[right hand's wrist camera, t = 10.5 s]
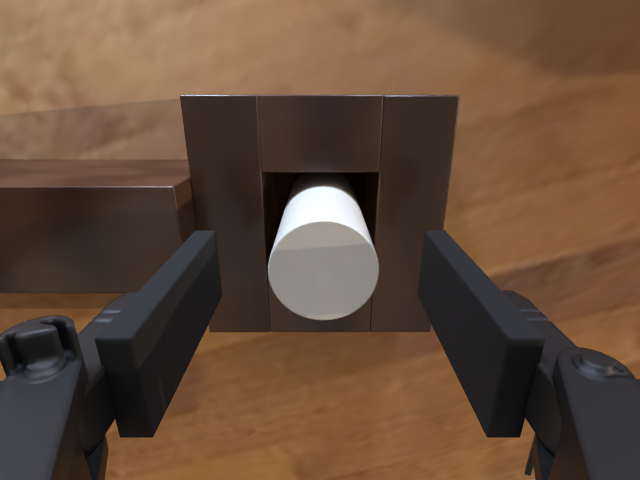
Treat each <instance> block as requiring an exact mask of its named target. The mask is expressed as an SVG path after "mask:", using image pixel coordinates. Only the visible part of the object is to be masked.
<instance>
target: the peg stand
mask: <svg viewBox="0 0 640 480" xmlns="http://www.w3.org/2000/svg"><path fill="white" fill-rule="evenodd" d="M180 99H181V107H182V115H183V123H184V131H185V139H186V147H187V155H188V160H0V293H127V292H138V291H139V290H140V289H141V288H142V287H143V286H144V285H145V284H146V283H147V282H148V281H149V280H150V278H151V277H152V276H153V275H154V274H155V273H156V272H157V271H158V270H159V269H160V268H161V267H162V266H163V265H164V264H165V262H166V261H167V260H168V259H169V258H170V257H171V256H172V255H173V254H174V253H175V252H176V251H177V250H178V249H179V247H180V246H181V245H182V244H183V243H184V242H185V241H186V240H187V239H188V238H189V237H190V236H191V235H192V234H193V233H194V231H216V238H217V247H218V257H219V266H220V275H221V285H222V294H223V296H222V298H221V300H220V302H219V304H218V306H217V308H216V310H215V312H214V314H213V316H212V318H211V320H210V322H209V329H210V332H270V331H271V332H369V331H370V332H430V329H431V322H430V320H429V318H428V316H427V314H426V312H425V310H424V308H423V306H422V304H421V302H420V300H419V298H418V296H417V294H418V285H419V275H420V266H421V257H422V247H423V238H424V231H443V227H444V219H445V211H446V204H447V196H448V188H449V180H450V172H451V164H452V156H453V149H454V141H455V133H456V125H457V117H458V109H459V101H460V96H459V95H180ZM275 172H366V181H365V203H364V221H365V224H366V227H367V229H368V232H369V235H370V238H371V240H372V243H373V246H374V249H375V252H376V255H377V258H378V263H379V277H378V281H377V285H376V287H375V289H374V292H373V293H372V295H371V296H370V298H369V299H368V300H367V301H366V303H365V304H364V305H362V306H361V307H360V308H359V309H357V310H356V311H354V312H353V313H351V314H349V315H347V316H344V317H341V318H338V319H332V320H315V319H309V318H306V317H303V316H300V315H298V314H296V313H294V312H292V311H291V310H289V309H288V308H287V307H285V306H284V305H283V304H282V303H281V302H280V300H279V299H278V298H277V297H276V295H275V293H274V292H273V290H272V287H271V285H270V281H269V277H268V263H269V258H270V255H271V252H272V249H273V245H274V242H275V239H276V236H277V216H276V194H275Z"/></svg>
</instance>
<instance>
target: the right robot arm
mask: <svg viewBox="0 0 640 480" xmlns="http://www.w3.org/2000/svg"><path fill="white" fill-rule="evenodd" d="M222 296H223V294H222V285H221V275H220V266H219V257H218V247H217V238H216V231H194V233H193V234H192V235H191V236H190V237H189V238H188V239H187V240H186V241H185V242H184V243H183V244H182V245H181V246H180V247H179V249H178V250H177V251H176V252H175V253H174V254H173V255H172V256H171V257H170V258H169V259H168V260H167V261H166V262H165V264H164V265H163V266H162V267H161V268H160V269H159V270H158V271H157V272H156V273H155V274H154V275H153V276H152V277H151V278H150V280H149V281H148V282H147V283H146V284H145V285H144V286H143V287H142V288H141V289H140V290H139V291H138V292H127V293H125V294H123V295H122V296H120V297H118V298H116V299H114V300H113V301H111V302H110V303H109V304H108V305H107V306H106V307H105V308H104V309H103V310H102V311H101V313H99V314H98V315H97V316H96V317H95V318H94V319H93V320H92V322H90V323H89V324H88V325H87V326H86V327H85V328H84V329H83V330H82V331H81V332H80V333H79V334H78V335H77V333H76V330H75V326H74V322H73V320H72V319H70V318H68V317H66V316H58V315H55V316H45V317H40V318H36V319H32V320H28V321H26V322H23V323H21V324H18V325H16V326H13V327H12V328H10V329H8V330H7V331H5V332H3V333H2V334H0V361H1V363H2V366H3V369H4V371H5V374H6V378H5V380H4V381H0V480H105V472H106V464H107V457H108V444H107V440H106V436H105V434H106V432H107V431H108V429H109V428H110V426H111V424H112V423H113V421H114V420H116V423H117V427H118V431H119V435H120V437H153V436H154V434H155V432H156V430H157V428H158V426H159V424H160V422H161V420H162V418H163V416H164V414H165V412H166V410H167V408H168V406H169V404H170V402H171V400H172V398H173V395H174V393H175V391H176V389H177V387H178V385H179V383H180V381H181V379H182V377H183V375H184V373H185V371H186V369H187V367H188V365H189V363H190V361H191V359H192V357H193V355H194V353H195V351H196V349H197V347H198V345H199V343H200V341H201V338H202V336H203V334H204V332H205V330H206V328H207V326H208V324H209V322H210V320H211V318H212V316H213V314H214V312H215V310H216V308H217V306H218V304H219V302H220V300H221V298H222ZM417 296H418V298H419V300H420V302H421V304H422V306H423V308H424V310H425V312H426V314H427V316H428V318H429V320H430V322H431V324H432V326H433V328H434V330H435V332H436V334H437V336H438V339H439V341H440V343H441V345H442V347H443V349H444V351H445V353H446V355H447V357H448V359H449V361H450V363H451V365H452V367H453V369H454V371H455V373H456V375H457V377H458V379H459V381H460V383H461V385H462V387H463V389H464V391H465V393H466V395H467V398H468V400H469V402H470V404H471V406H472V408H473V410H474V412H475V414H476V416H477V418H478V420H479V422H480V424H481V426H482V428H483V430H484V432H485V434H486V436H487V437H520V435H521V431H522V427H523V423H524V420H525V418H526V419H527V421H528V422H529V424H530V426H531V427H532V429H533V430H534V432H535V436H534V440H533V443H532V447H531V450H530V454H529V458H528V461H527V465H526V470H525V474H526V475H529V476H530V475H531V472H532V468H533V467H534V471H535V479H536V480H640V380H639V379H635V377H634V375H633V374H632V373H631V372H630V371H629V369H628V368H627V367H626V366H624V365H623V364H621V363H620V362H619V361H617V360H616V359H614V358H612V357H610V356H608V355H605V354H603V353H601V352H598V351H594V350H591V349H588V348H580V347H577V346H576V345H575V344H574V343H573V342H572V341H570V340H569V339H568V338H567V337H566V336H565V335H564V334H563V333H562V332H561V331H560V330H559V329H558V328H557V327H556V326H555V325H554V324H553V323H552V322H551V321H548V318H547V317H546V316H545V315H544V314H543V313H542V312H539V309H538V308H536V307H535V306H534V305H533V304H532V303H531V302H530V301H529V300H528V299H526V298H525V297H523V296H521V295H519V294H517V293H515V292H514V291H501V290H500V289H499V288H498V287H497V286H496V285H495V284H494V283H493V282H492V281H491V280H490V278H489V277H488V276H487V275H486V274H485V273H484V272H483V271H482V270H481V269H480V268H479V267H478V266H477V265H476V264H475V262H474V261H473V260H472V259H471V258H470V257H469V256H468V255H467V254H466V253H465V252H464V251H463V250H462V249H461V247H460V246H459V245H458V244H457V243H456V242H455V241H454V240H453V239H452V238H451V237H450V236H449V235H448V234H447V233H446V231H424V238H423V247H422V257H421V266H420V275H419V285H418V294H417Z"/></svg>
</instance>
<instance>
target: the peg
mask: <svg viewBox="0 0 640 480" xmlns="http://www.w3.org/2000/svg"><path fill="white" fill-rule="evenodd" d="M268 277H269V281H270V285H271V287H272V290H273V292H274V293H275V295H276V297H277V298H278V299H279V300H280V302H281V303H282V304H283V305H284V306H285V307H287V308H288V309H289V310H291V311H292V312H294V313H296V314H298V315H300V316H303V317H306V318H309V319H315V320H332V319H338V318H341V317H344V316H347V315H349V314H351V313H353V312H354V311H356V310H357V309H359V308H360V307H361V306H362V305H364V304H365V303H366V301H367V300H368V299H369V298H370V296H371V295H372V293H373V292H374V289H375V287H376V285H377V281H378V277H379V263H378V258H377V255H376V252H375V249H374V246H373V243H372V240H371V238H370V235H369V232H368V229H367V227H366V224H365V221H364V218H363V215H362V213H361V210H360V207H359V204H358V202H357V199H356V196H355V193H354V190H353V188H352V186H351V184H350V182H349V181H348V180H347V179H346V177H344V176H343V175H342V174H341V173H339V172H305V173H304V174H302V175H301V176H300V177H299V178H298V179H297V180H296V181H295V183H294V184H293V186H292V188H291V191H290V194H289V198H288V201H287V204H286V207H285V210H284V214H283V217H282V220H281V223H280V226H279V230H278V233H277V236H276V239H275V242H274V245H273V249H272V252H271V255H270V258H269V263H268Z"/></svg>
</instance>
